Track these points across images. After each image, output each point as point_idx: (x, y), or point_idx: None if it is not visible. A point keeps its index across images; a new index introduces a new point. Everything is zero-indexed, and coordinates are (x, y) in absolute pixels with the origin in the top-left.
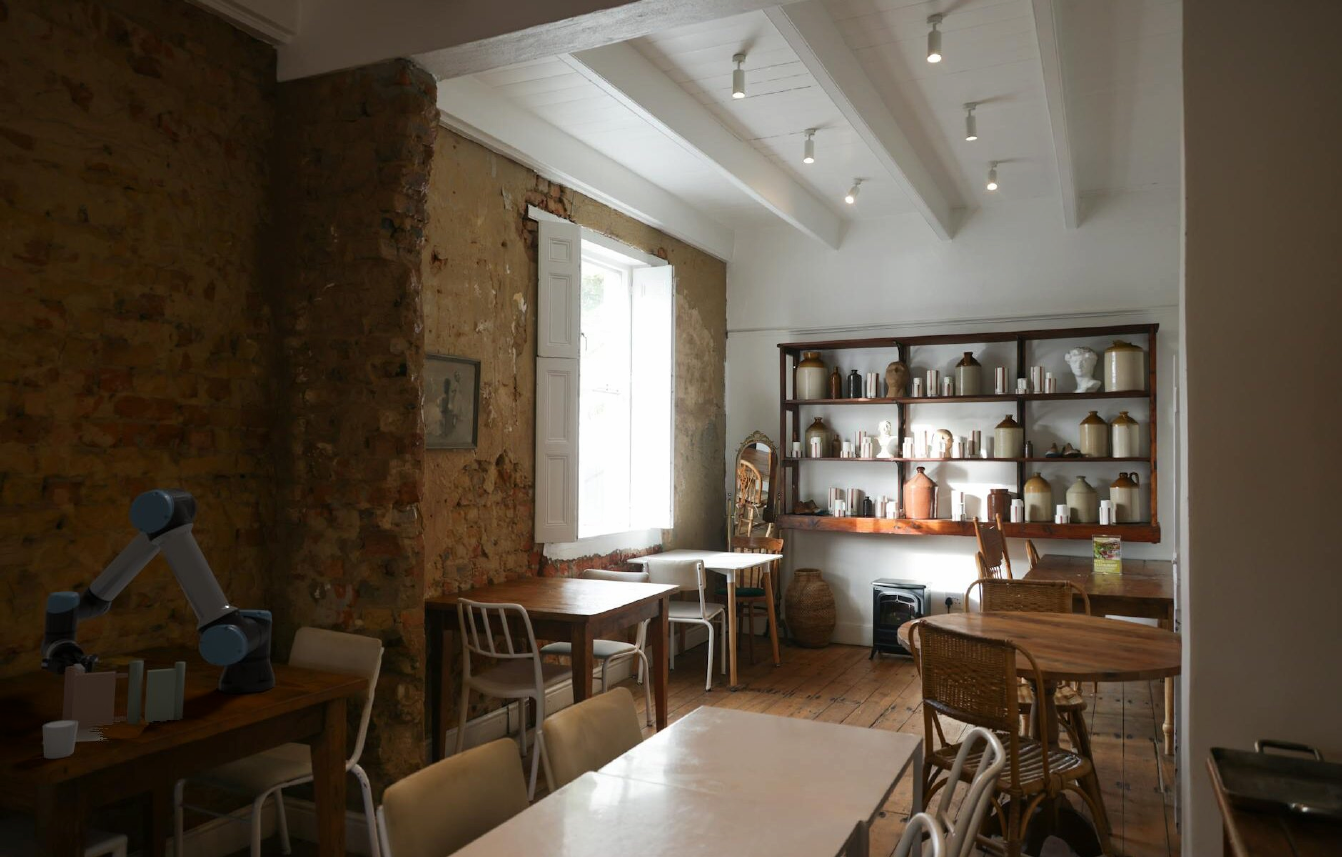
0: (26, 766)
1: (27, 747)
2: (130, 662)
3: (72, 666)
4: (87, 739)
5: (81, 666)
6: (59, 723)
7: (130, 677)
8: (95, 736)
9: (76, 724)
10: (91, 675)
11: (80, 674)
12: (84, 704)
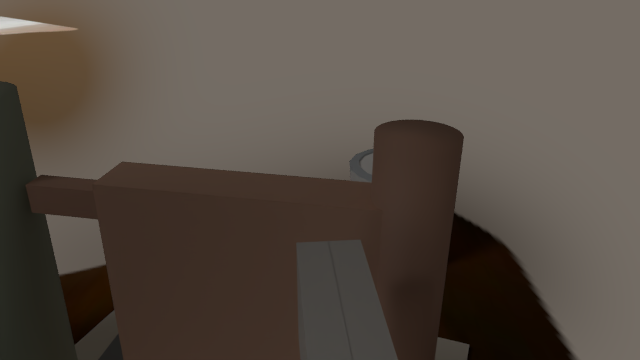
0: (462, 219)
1: (514, 345)
2: (11, 91)
3: (412, 140)
4: None
5: (323, 328)
6: None
7: None
8: None
9: (355, 155)
10: (272, 179)
11: (343, 191)
12: None
